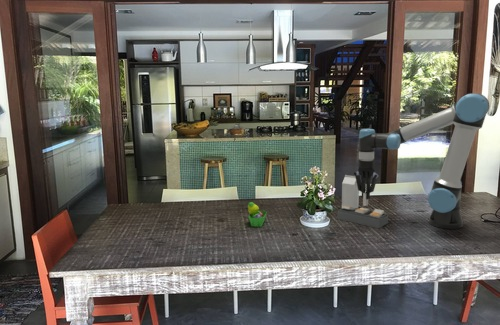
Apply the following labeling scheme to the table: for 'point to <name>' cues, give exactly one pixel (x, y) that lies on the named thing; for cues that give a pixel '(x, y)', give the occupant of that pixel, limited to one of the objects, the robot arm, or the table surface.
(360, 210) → the middle rocker
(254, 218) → the chick basket toy
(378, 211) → the near rocker
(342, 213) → the switch panel
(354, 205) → the milk carton
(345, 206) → the far rocker
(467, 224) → the table surface
